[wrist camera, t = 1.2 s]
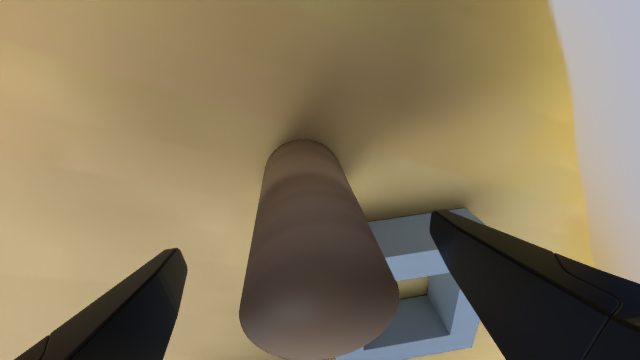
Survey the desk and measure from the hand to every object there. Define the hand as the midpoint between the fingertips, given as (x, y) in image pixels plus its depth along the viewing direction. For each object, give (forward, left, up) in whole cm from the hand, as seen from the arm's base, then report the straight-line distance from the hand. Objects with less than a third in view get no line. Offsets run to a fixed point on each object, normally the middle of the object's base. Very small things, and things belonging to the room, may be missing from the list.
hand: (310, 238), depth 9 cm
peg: (0, 0, -5) cm, 5 cm away
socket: (-8, -5, -5) cm, 11 cm away
